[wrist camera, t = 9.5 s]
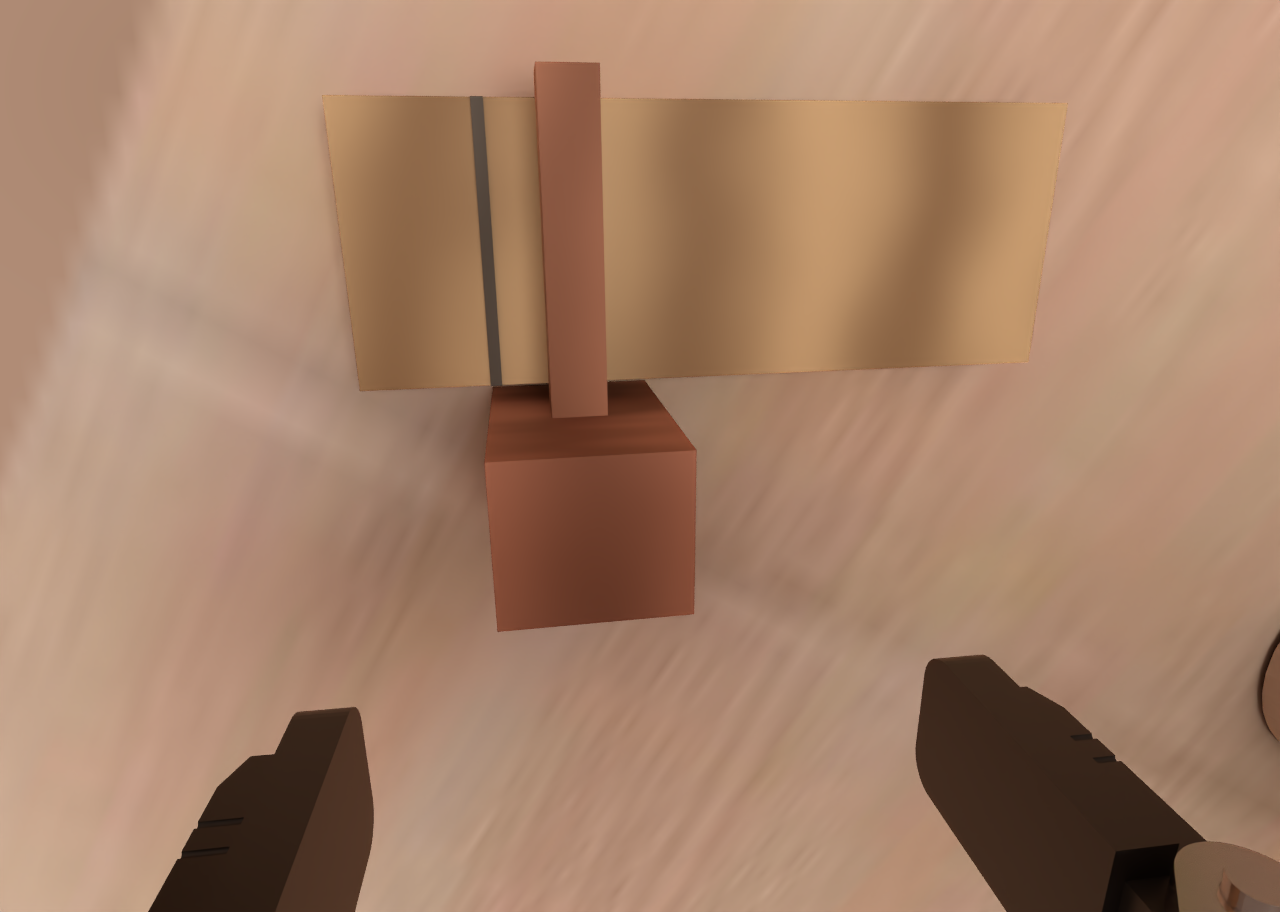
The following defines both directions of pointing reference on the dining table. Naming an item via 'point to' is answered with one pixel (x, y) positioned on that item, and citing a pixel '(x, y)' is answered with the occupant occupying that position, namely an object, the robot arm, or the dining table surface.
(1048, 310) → the dining table surface
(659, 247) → the board
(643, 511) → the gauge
